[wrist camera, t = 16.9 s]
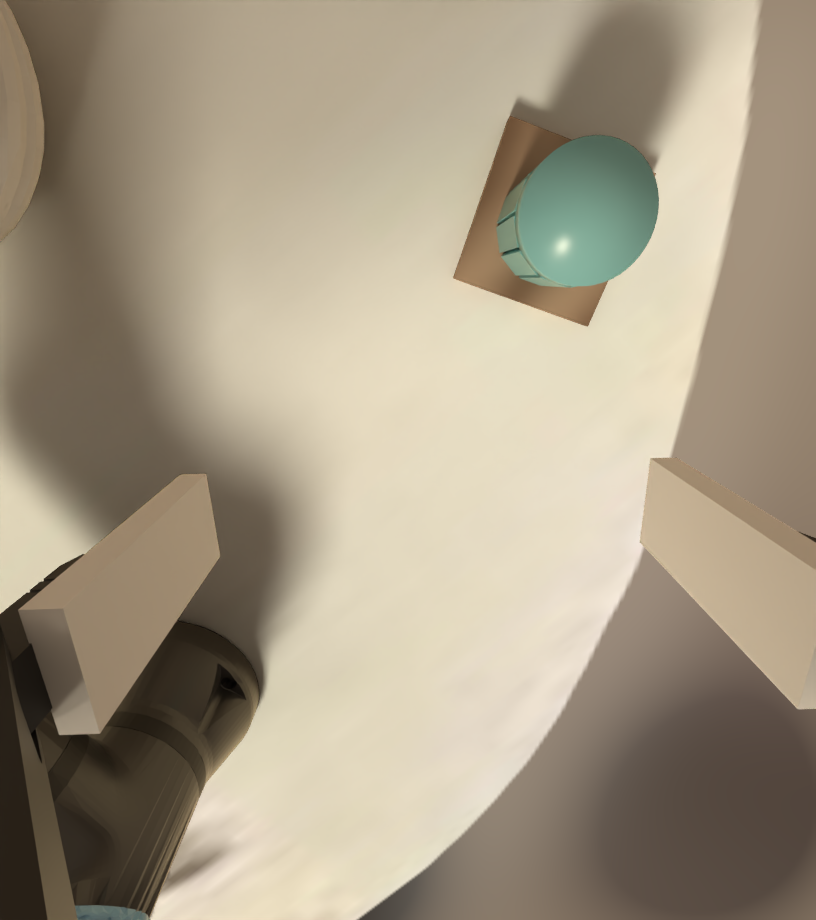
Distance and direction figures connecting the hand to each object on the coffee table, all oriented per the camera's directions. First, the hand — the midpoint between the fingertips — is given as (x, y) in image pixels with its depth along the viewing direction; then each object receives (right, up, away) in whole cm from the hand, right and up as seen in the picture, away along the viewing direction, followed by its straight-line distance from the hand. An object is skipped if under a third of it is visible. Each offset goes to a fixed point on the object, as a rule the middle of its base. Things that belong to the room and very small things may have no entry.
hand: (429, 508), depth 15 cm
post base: (+9, +17, +19) cm, 27 cm away
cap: (+9, +17, +18) cm, 26 cm away
